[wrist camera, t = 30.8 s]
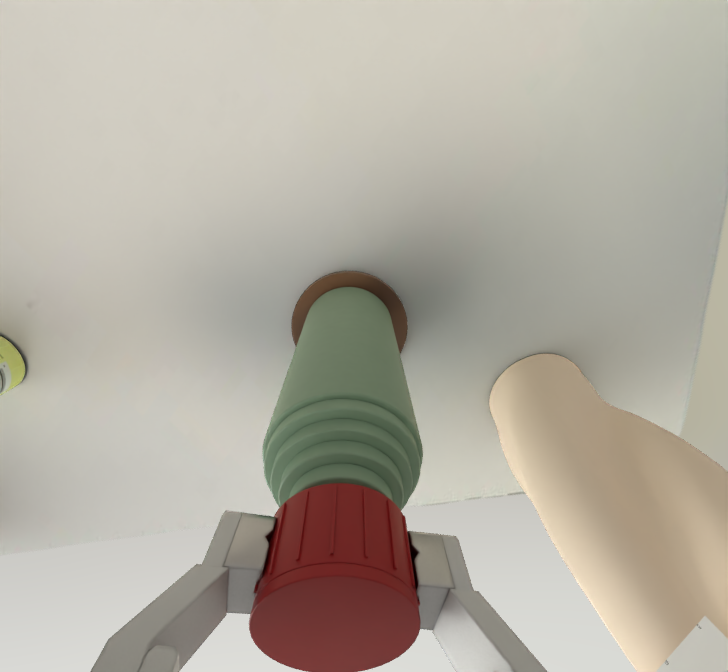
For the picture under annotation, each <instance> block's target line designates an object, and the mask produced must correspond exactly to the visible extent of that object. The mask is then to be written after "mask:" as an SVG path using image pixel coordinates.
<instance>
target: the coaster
mask: <svg viewBox="0 0 728 672" xmlns="http://www.w3.org/2000/svg"><path fill="white" fill-rule="evenodd" d="M341 287H356V288H361V289H364V290H366V291H369V292H371V293H372V294H374V295H375V296H377V297H378V298H379V299H380V300H381V301H382V302H383V303H384V304H385V306H386V307H387V309H388V311H389V313H390V316H391V320H392V324H393V328H394V333H395V337H396V341H397V345H398V349H399V353H401V351H402V349H403V347H404V344H405V341H406V337H407V327H408V325H407V317H406V313H405V310H404V307H403V305H402V302H401V301H400V299H399V297H398V296H397V294H396V293H395V292H394V290H393V289H392V288H391V287H390V286H389V285H387V284H386V283H385V282H383V281H382V280H380V279H378V278H377V277H375V276H372V275H370V274H367V273H363V272H357V271H341V272H336V273H332V274H329V275H326V276H324V277H322V278H320V279H318V280H317V281H315V282H314V283H313V284H311V285H310V286H309V287H308V288H307V289H306V290H305V291H304V293H303V294H302V295H301V297H300V299H299V301H298V302H297V304H296V307H295V309H294V312H293V317H292V335H293V340H294V343H295V345H296V346H297V343H298V340H299V337H300V335H301V332H302V329H303V326H304V323H305V320H306V317H307V314H308V312H309V310H310V308H311V306H312V305H313V303H314V302H315V301H316V300H317V299H318V298H319V297H320V296H322V295H323V294H325V293H326V292H328V291H331V290H333V289H336V288H341Z"/></svg>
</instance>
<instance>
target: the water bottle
mask: <svg viewBox="0 0 728 672" xmlns="http://www.w3.org/2000/svg"><path fill="white" fill-rule="evenodd" d="M489 408H490V411H491V414H492V416H493V419H494V421H495V424H496V427H497V430H498V434H499V438H500V442H501V446H502V449H503V452H504V455H505V457H506V460H507V462H508V464H509V467H510V469H511V471H512V473H513V474H514V476H515V478H516V479H517V481H518V483H519V484H520V486H521V487H522V489H523V490H524V492H525V493H526V494H527V496H528V497H529V498H530V500H531V501H532V502H533V504H534V505H535V508H536V510H537V512H538V515H539V517H540V519H541V521H542V522H543V525H544V526H545V529H546V531H547V532H548V535H549V537H550V538H551V540H552V542H553V543H554V545H555V547H556V549H557V550H558V552H559V553H560V555H561V557H562V559H563V560H564V562H565V564H566V565H567V567H568V568H569V570H570V571H571V573H572V575H573V576H574V578H575V579H576V581H577V582H578V584H579V586H580V587H581V589H582V590H583V592H584V593H585V595H586V596H587V598H588V599H589V601H590V602H591V604H592V605H593V607H594V609H595V610H596V612H597V613H598V615H599V616H600V618H601V619H602V621H603V622H604V624H605V625H606V627H607V628H608V630H609V631H610V633H611V634H612V636H613V638H614V639H615V640H616V642H617V643H618V644H619V646H620V648H621V649H622V651H623V652H624V654H625V655H626V657H627V658H628V660H629V661H630V663H631V664H632V665H633V667H634V668H635V670H636V671H637V672H728V472H727V471H726V470H725V469H724V468H723V467H722V466H720V465H719V464H718V463H717V462H715V461H713V460H712V459H711V458H709V457H708V456H707V455H705V454H704V453H702V452H701V451H700V450H698V449H697V448H695V447H694V446H692V445H691V444H689V443H688V442H686V441H685V440H683V439H681V438H680V437H678V436H676V435H674V434H673V433H671V432H669V431H667V430H665V429H663V428H661V427H660V426H658V425H656V424H654V423H652V422H650V421H648V420H646V419H644V418H642V417H639V416H637V415H635V414H632V413H630V412H627V411H624V410H621V409H618V408H616V407H613V406H611V405H610V404H608V403H606V402H605V401H604V400H602V399H601V397H600V396H599V395H598V393H597V392H596V390H595V389H594V388H593V386H592V385H591V384H590V382H589V381H588V380H587V379H586V378H585V376H584V375H583V374H582V372H581V371H580V369H579V368H578V367H577V366H576V365H575V364H574V363H573V362H572V361H570V360H568V359H567V358H564V357H562V356H560V355H556V354H537V355H532V356H529V357H526V358H524V359H522V360H519V361H517V362H516V363H514V364H513V365H511V366H510V367H508V368H507V369H506V370H505V371H504V372H503V373H502V374H501V375H500V376H499V378H498V379H497V380H496V382H495V384H494V386H493V388H492V390H491V394H490V399H489Z"/></svg>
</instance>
